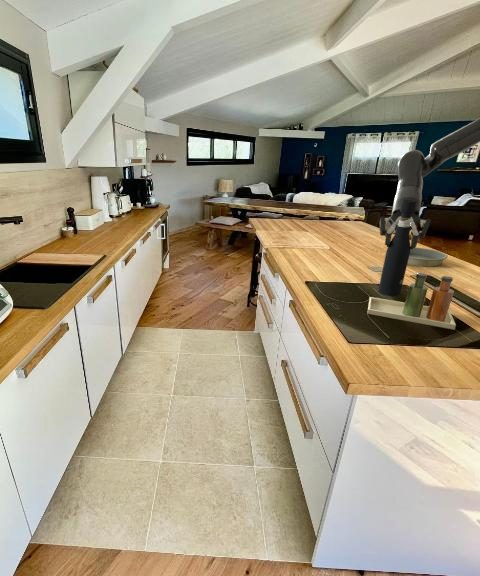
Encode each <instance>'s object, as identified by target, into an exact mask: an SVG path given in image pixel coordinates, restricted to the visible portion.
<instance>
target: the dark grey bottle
mask: <svg viewBox="0 0 480 576" xmlns="http://www.w3.org/2000/svg"><path fill="white" fill-rule="evenodd" d="M416 204H417V201H413V200H403V201H402V203H401V208H400V212H402V215H401V219H411V214H412V213H413V212H415V208H416ZM410 223H411V221H410V220H399V224H398V226H397V227H396V231H395V232H394V235H393V237H391V241H390V246H389V247H386V252H385V255H384V256H385V257H384V261H383V266H382V271H381V275H380V279H379V284H378V288H377V292H378V293H379V294H381V295H384V296H387V297H399V296H400V295H401V292H402V288H403V284H404V280H405V275H406V271H407V267H408V264H407V263H408V259H409V255H410V246H411V241H410V234H409V233H410V229H411V227H410V225H411V224H410Z"/></svg>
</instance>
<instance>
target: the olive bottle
mask: <svg viewBox="0 0 480 576" xmlns="http://www.w3.org/2000/svg"><path fill="white" fill-rule="evenodd" d="M427 277H428V275H427V274H426V273H422V272H417V273H415V280H414V283H409V285H408V288H407V291H406V296H405V299H404V303H405V304H404V308H403V312H402V313H403V314H404V315H406V316H412V317H420V315H421V312H422V308H423V306H425V305H424V304H425V301H426V297H427V293H428V289H429V287H428V286H427V285H425V282H426V279H427Z"/></svg>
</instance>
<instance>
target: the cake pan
mask: <svg viewBox="0 0 480 576" xmlns="http://www.w3.org/2000/svg"><path fill="white" fill-rule="evenodd" d="M447 258H448V255H447V254H446V253H445V252H442V251H438V250H435V249H429V248H424V247H417V246H416V247H415V248H413V249H410V255H409V259H408V263H407V266H415V267H426V268H428V267H429V268H430V267H439V266H441V265H442V263H443V262H444V260H446V259H447Z"/></svg>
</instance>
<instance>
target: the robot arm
mask: <svg viewBox="0 0 480 576" xmlns="http://www.w3.org/2000/svg"><path fill="white" fill-rule="evenodd" d="M479 143H480V118H478V119H477V118H476V120H474V121H472V122H469V123H468V124H467V125H464V126H462V127H461V128H458V129H457V130H455V131H453V132H451V133H449V134H448V135H445V136H443V137H442V138H440V139H438V140H436V141H435V142H434V143H432V144H431V146H430V151H429V154H428V155H427V156H426V157H425V156H424V154H423V152H422V151H421V150H418V149H411V150H408V151H406V152H405V153H404V154H402V155H401V157H400V158H399V161H398V163H397V177H398V179H397V180H398V182H397V183H398V184H397V188H396V193H395V196H394V199H393V204H392V211H391V215H390V216H389V217H385V216H383V215H382V216H380V219H379V235H380V236H383V237H385V240H384V246H386V248H388V247H389V246H390V242H391V240H392V235H393V234H395V232H396V227H397V226H398V224H399V220H410V221H411V223H410V224H411V225H410V227H411V229H410V233H409V236H410V237H411V241H410V249H413V248H415V247H416V248H417V245H418V240H419V239H421V240H423V239H425V236H426V234H427V231H428V229H429V227H430V224H431V221H432V220H431V219H430V218H426V219H421V217H420V214H421V213H420V212H421V206H422V200H423V194H422V193H423V186H424V180H423V178H424V177H427V175H429V174H430V173H432V172H433V171H434V170H436V169H437V168H439V166H441V165H442V164H443V163H444V162H446V161H447V160H449V159H452V158H454V157H455V156H457V155H459V154H462V153H464V152H465V151H467V150H468V149H470V148H472V147H474V146H476V145H478V144H479ZM403 200H413V201H417V204H416V208H415V212H413V213H412V214H411V219H401V215H402V212H400V208H401V203H402V201H403ZM388 223H389V224H390V225H391V226H390V227H389V229H388V230H387V229H386V225H387V224H388ZM418 225H420V228H422V230H421V232H419V231H418V229H417V226H418Z"/></svg>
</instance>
